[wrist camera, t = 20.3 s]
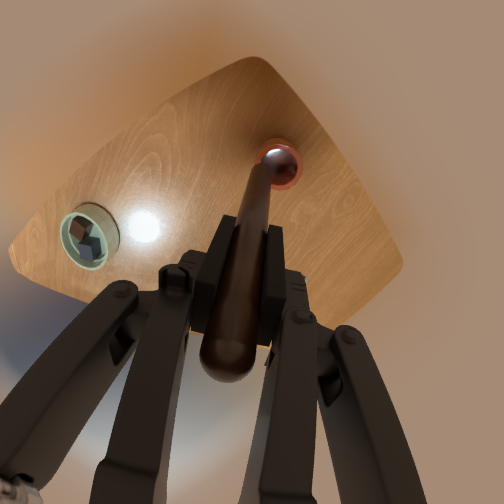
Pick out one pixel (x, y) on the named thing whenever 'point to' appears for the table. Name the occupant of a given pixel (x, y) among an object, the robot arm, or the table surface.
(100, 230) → the bowl
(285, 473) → the robot arm
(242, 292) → the stick
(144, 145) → the table surface
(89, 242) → the block
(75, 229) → the block
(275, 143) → the holder
